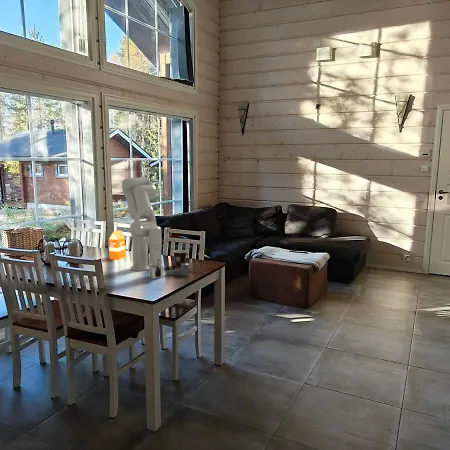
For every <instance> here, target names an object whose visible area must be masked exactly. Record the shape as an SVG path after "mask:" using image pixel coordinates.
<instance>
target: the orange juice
mask: <svg viewBox="0 0 450 450" xmlns="http://www.w3.org/2000/svg"><path fill="white" fill-rule="evenodd" d="M108 250H109V252H108V253H109V259H110V260H116V259H117V261H118V260H122V259H124V258H126V237H125V236H124V234H123V232H122V230H121V229H119V230H116V231H112V233H111V235H110V236H109V238H108ZM121 258H122V259H121Z"/></svg>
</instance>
